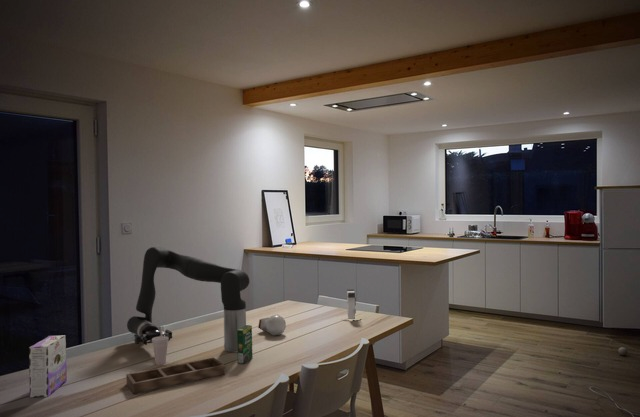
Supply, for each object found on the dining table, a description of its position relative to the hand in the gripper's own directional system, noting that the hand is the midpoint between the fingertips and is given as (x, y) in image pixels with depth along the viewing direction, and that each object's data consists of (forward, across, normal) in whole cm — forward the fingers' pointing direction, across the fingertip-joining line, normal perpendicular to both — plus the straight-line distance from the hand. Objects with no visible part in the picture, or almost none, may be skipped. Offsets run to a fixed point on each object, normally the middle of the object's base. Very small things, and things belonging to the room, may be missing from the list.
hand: (157, 340), depth 188 cm
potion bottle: (-9, +55, +8) cm, 56 cm away
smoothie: (+5, 0, +8) cm, 9 cm away
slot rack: (+27, 0, +8) cm, 28 cm away
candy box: (+11, -38, +8) cm, 40 cm away
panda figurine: (-11, +103, +8) cm, 104 cm away
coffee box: (+22, +28, +8) cm, 36 cm away
